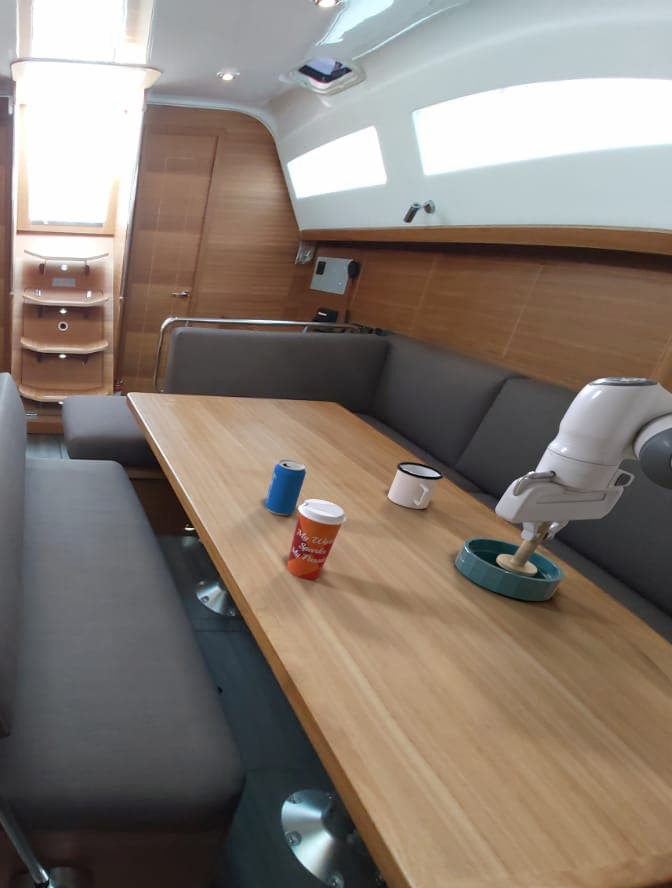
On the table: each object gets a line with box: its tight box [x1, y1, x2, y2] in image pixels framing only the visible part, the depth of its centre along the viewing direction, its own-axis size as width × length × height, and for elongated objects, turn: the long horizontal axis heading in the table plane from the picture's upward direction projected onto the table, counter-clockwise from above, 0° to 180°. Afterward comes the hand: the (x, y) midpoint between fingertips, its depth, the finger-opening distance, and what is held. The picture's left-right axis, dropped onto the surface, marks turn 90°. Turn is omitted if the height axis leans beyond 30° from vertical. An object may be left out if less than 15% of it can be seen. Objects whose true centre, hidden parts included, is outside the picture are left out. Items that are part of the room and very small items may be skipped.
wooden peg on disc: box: [493, 521, 554, 578], centre depth 92 cm, size 6×6×14 cm
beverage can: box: [264, 459, 307, 516], centre depth 116 cm, size 6×6×12 cm
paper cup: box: [286, 498, 347, 580], centre depth 93 cm, size 8×8×14 cm
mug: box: [387, 461, 445, 510], centre depth 122 cm, size 12×10×9 cm
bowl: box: [454, 536, 565, 602], centre depth 95 cm, size 14×14×5 cm
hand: (535, 538), depth 91 cm, fingers closed on wooden peg on disc
